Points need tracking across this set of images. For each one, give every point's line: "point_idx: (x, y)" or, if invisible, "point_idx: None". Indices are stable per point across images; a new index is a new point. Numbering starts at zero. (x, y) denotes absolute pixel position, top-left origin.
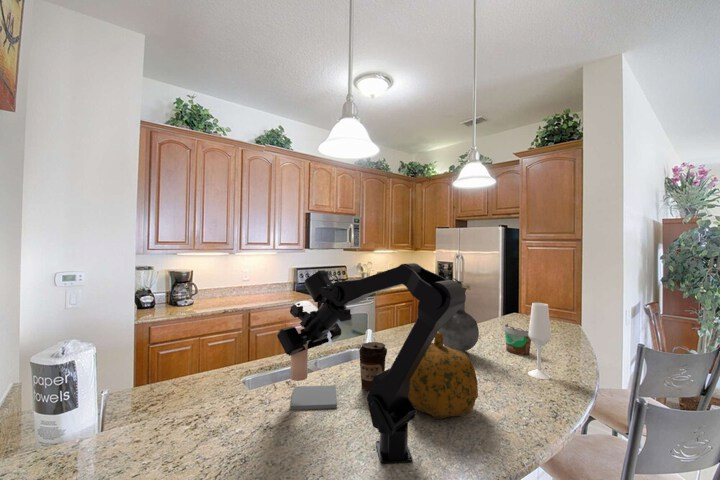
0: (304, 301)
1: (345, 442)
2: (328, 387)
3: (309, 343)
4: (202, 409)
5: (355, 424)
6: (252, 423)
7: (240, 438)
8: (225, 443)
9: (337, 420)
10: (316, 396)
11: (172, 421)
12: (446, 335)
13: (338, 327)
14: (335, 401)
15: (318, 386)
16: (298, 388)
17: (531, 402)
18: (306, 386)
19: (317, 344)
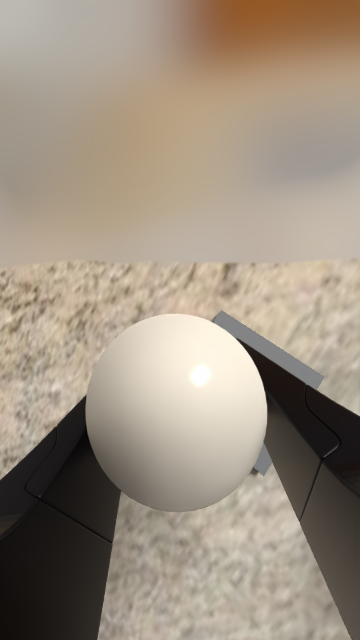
0: None
1: (185, 624)
2: (297, 374)
3: (266, 425)
4: (49, 277)
5: (254, 581)
6: (83, 384)
7: (44, 417)
8: (22, 413)
9: (226, 522)
10: None
11: (3, 287)
12: None
13: None
14: (269, 459)
15: (275, 350)
16: (224, 326)
17: None
18: (247, 329)
19: (312, 544)
